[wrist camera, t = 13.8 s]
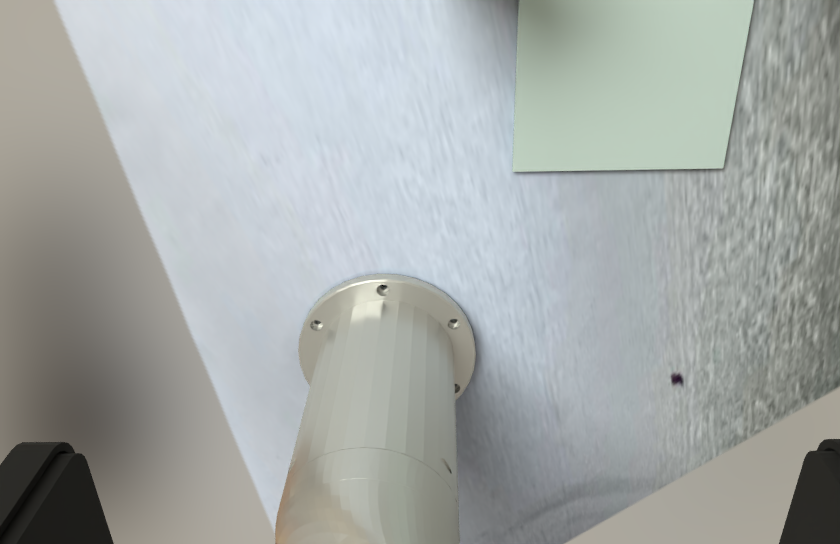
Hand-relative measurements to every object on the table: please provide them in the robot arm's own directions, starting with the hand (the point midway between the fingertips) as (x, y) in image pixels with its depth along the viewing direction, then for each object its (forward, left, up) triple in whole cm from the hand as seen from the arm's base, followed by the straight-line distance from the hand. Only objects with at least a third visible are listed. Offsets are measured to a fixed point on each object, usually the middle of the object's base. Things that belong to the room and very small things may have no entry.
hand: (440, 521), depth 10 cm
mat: (-2, -11, -36) cm, 38 cm away
